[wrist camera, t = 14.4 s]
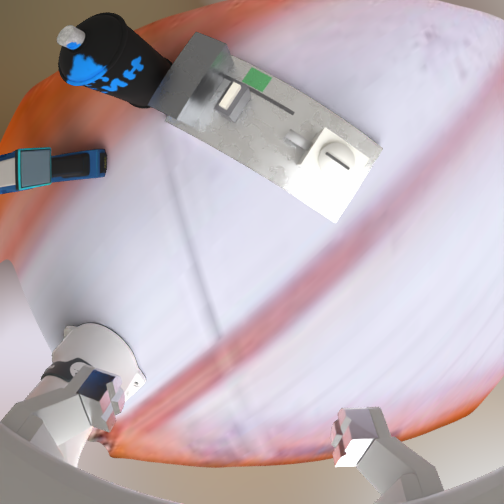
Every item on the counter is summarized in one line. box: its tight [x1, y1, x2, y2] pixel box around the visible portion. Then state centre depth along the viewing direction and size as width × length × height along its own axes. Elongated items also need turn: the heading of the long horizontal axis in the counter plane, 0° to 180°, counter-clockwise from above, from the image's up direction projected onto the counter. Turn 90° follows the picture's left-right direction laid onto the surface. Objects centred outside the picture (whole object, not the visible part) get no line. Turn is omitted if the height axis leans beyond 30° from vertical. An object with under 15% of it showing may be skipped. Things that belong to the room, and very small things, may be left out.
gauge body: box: [285, 127, 369, 195], centre depth 31 cm, size 9×5×6 cm, turn 59°
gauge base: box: [148, 32, 383, 223], centre depth 31 cm, size 26×12×8 cm, turn 59°
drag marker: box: [214, 79, 251, 123], centre depth 30 cm, size 2×4×6 cm, turn 149°
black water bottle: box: [57, 13, 173, 108], centre depth 24 cm, size 8×8×20 cm
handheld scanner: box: [0, 147, 107, 194], centre depth 28 cm, size 5×16×20 cm, turn 89°
